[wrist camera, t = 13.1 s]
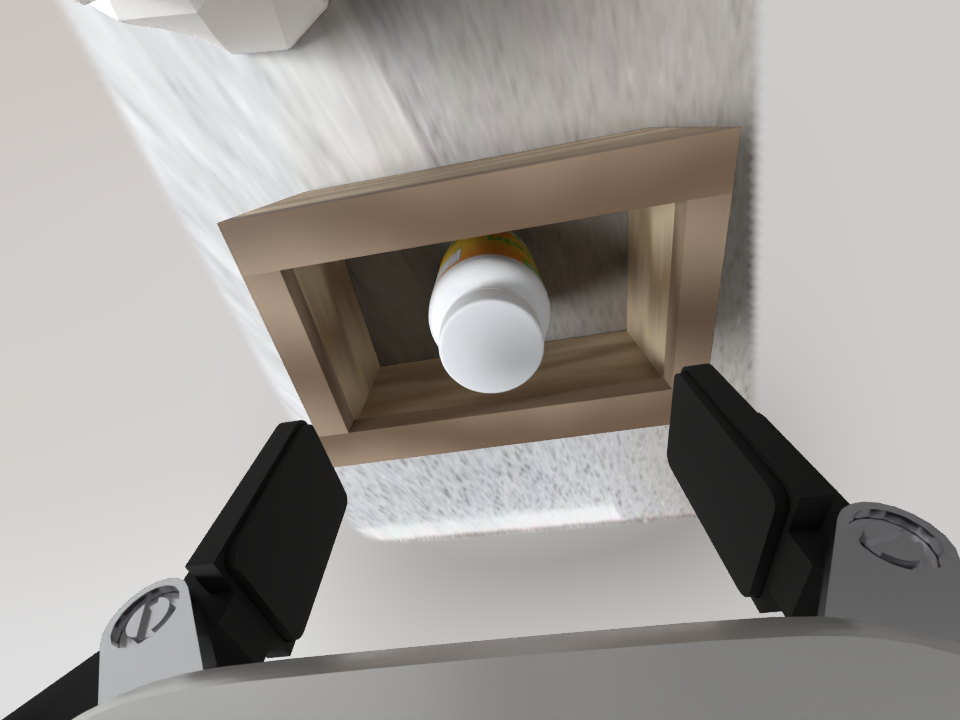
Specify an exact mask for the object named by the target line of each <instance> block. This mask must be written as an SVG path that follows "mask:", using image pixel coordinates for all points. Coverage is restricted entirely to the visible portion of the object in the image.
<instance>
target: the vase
mask: <svg viewBox="0 0 960 720" xmlns="http://www.w3.org/2000/svg"><path fill="white" fill-rule="evenodd" d="M71 1H74V2H77V3H79V4H82V5H86V4H89V5H91V6H92V7H94V8H96V9H98V10H100V11H101V12H103V13H105V14H107V15H109V16H110V17H112V18H114V19H116V20H118V21H121V22H124V23H128V24H132V25H138V26H146V27H153V28H160V29H165V30H169V31H172V32H176V33H180V34H184V35H188V36H191V37H194V38H197V39H199V40H202V41H205V42H208V43H210V44H213V45H215V46H217V47H219V48H221V49H223V50H225V51H228V52H230V53H232V54H245V53H257V52H268V51H280V50H288V49H289V48H292V46H293V45H294V44H295V43H296V42H297V41H298V40H299V39H300V37H301V36H302V35H303V34H304V33H305V32H306V31H307V30H308V28H309V27H310V26H311V25H312V24H313V23H314V22H315V21H316V19H317V18H318V17H319V16H320V15H321V14H322V13H323V12H324V11H325V9H326V8H327V7H328V1H329V0H71Z"/></svg>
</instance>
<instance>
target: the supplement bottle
mask: <svg viewBox="0 0 960 720" xmlns="http://www.w3.org/2000/svg"><path fill="white" fill-rule="evenodd" d="M550 322H551V307H550V301H549V298H548V294H547V292H546V289H545V286H544V284H543V282H542V280H541V277H540V275H539V272H538V270H537V268H536V265H535V262H534V260H533V257H532V255H531V253H530V251H529V249H528V247H527V246H526V244H525V243H524V242H523V241H522V240H521V239H520V238H519V237H518V236H517V235H516V234H514V233H513V232H511V231H507V232H501V233H495V234H489V235H484V236H478V237H472V238H466V239H460V240H454V241H453V242H452V243H451V244H450V245H449V247H448V248H447V250H446V252H445V254H444V256H443V258H442V261H441V265H440V268H439V272H438V275H437V279H436V282H435V286H434V289H433V292H432V296H431V300H430V306H429V326H430V330H431V333H432V336H433V338H434V341H435V342H436V344H437V345H438V347H439V354H440V358H441V362H442V364H443V366H444V368H445V370H446V371H447V372H448V374H449V375H450V376H451V377H452V378H453V379H454V380H455V381H456V382H458V383H459V384H460V385H462V386H464V387H466V388H468V389H470V390H473V391H477V392H482V393H500V392H505V391H508V390H511V389H514V388H516V387H518V386H520V385H521V384H523V383H524V382H526V381H527V380H528V379H529V378H530V377H531V376H532V375H533V374H534V373H535V371H536V370H537V368H538V367H539V365H540V362H541V360H542V357H543V353H544V340H545V338H546V336H547V333H548V330H549V326H550Z"/></svg>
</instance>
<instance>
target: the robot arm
mask: <svg viewBox="0 0 960 720" xmlns="http://www.w3.org/2000/svg"><path fill="white" fill-rule="evenodd" d="M667 458H668V463H669V465H670V468H671V470H672V471H673V473H674V475H675V477H676V479H677V480H678V482H679V484H680V486H681V488H682V489H683V491H684V493H685V495H686V497H687V498H688V500H689V502H690V504H691V506H692V507H693V509H694V511H695V513H696V515H697V516H698V518H699V520H700V522H701V524H702V525H703V527H704V529H705V531H706V532H707V534H708V536H709V538H710V539H711V541H712V543H713V545H714V547H715V549H716V550H717V552H718V554H719V556H720V558H721V559H722V561H723V563H724V565H725V566H726V568H727V570H728V572H729V574H730V576H731V577H732V579H733V581H734V583H735V585H736V586H737V588H738V590H739V591H740V593H741V594H742V595H743V596H745V597H751V598H752V600H753V602H754V604H755V605H756V607H757V609H758V611H759V612H760V613H768V612H778V611H782V612H783V614H784V615H785V617H768V618H754V619H738V620H723V621H709V622H694V623H680V624H669V625H656V626H645V627H633V628H621V629H610V630H598V631H587V632H576V633H563V634H551V635H540V636H529V637H518V638H507V639H496V640H484V641H473V642H463V643H452V644H441V645H430V646H419V647H408V648H398V649H387V650H377V651H367V652H357V653H346V654H336V655H325V656H315V657H304V658H294V659H285V660H276V661H268V662H264V660H265V657H267V658H274V657H285V656H290V655H291V652H292V649H293V646H294V644H295V641H296V640H297V639H299V638H300V637H301V636H302V634H303V632H304V630H305V627H306V624H307V621H308V619H309V616H310V613H311V610H312V607H313V603H314V601H315V598H316V595H317V592H318V589H319V586H320V583H321V580H322V577H323V574H324V571H325V569H326V565H327V562H328V560H329V557H330V554H331V551H332V548H333V545H334V542H335V539H336V536H337V533H338V530H339V527H340V524H341V521H342V519H343V516H344V513H345V510H346V506H347V495H346V492H345V490H344V488H343V486H342V484H341V482H340V480H339V478H338V475H337V473H336V471H335V469H334V467H333V465H332V463H331V461H330V459H329V457H328V455H327V453H326V451H325V449H324V447H323V445H322V443H321V441H320V438H319V436H318V434H317V432H316V430H315V428H314V427H313V426H312V425H308V424H307V423H306V422H305V421H303V420H299V421H292V422H285V423H281V424H279V425H278V426H277V427H276V429H275V430H274V432H273V433H272V435H271V436H270V438H269V440H268V441H267V443H266V444H265V446H264V447H263V449H262V450H261V452H260V453H259V455H258V456H257V458H256V459H255V461H254V462H253V464H252V465H251V467H250V469H249V470H248V472H247V473H246V475H245V476H244V478H243V479H242V481H241V482H240V484H239V485H238V487H237V488H236V490H235V491H234V493H233V494H232V496H231V497H230V499H229V501H228V502H227V504H226V505H225V507H224V508H223V510H222V511H221V513H220V514H219V516H218V517H217V519H216V520H215V522H214V523H213V525H212V526H211V528H210V529H209V531H208V533H207V534H206V535H205V537H204V538H203V540H202V542H201V543H200V545H199V546H198V548H197V549H196V551H195V552H194V554H193V555H192V557H191V558H190V560H189V561H188V563H187V564H186V566H185V567H186V569H187V570H188V571H189V572H188V574H187V576H186V577H185V579H184V580H181V579H179V578H168V579H164V580H161V581H159V582H156V583H154V584H152V585H150V586H148V587H146V588H144V589H143V590H141V591H140V592H139V593H137V594H136V595H134V596H133V597H132V598H131V599H129V600H128V601H127V602H126V603H125V604H124V605H123V606H122V607H121V608H120V609H119V610H118V611H117V613H116V614H115V615H114V616H113V618H112V619H111V620H110V622H109V623H108V625H107V627H106V629H105V631H104V633H103V635H102V639H101V643H100V651H99V652H97V653H95V654H94V655H93V656H91V657H90V658H88V659H87V660H86V661H84V662H83V663H81V664H80V665H79V666H77V667H76V668H74V669H73V670H72V671H70V672H69V673H67V674H66V675H64V676H63V677H62V678H60V679H59V680H57V681H56V682H55V683H53V684H52V685H50V686H49V687H47V688H46V689H45V690H43V691H42V692H40V693H39V694H38V695H36V696H35V697H33V698H32V699H30V700H29V701H28V702H26V703H25V704H23V705H22V706H21V707H19V708H18V709H16V710H15V711H14V712H12V713H11V714H9V715H8V716H7V717H5V718H4V719H2V720H960V558H959V556H958V553H957V550H956V548H955V547H954V546H953V545H952V544H951V542H950V541H949V540H948V538H947V537H946V536H945V535H944V534H943V533H941V532H940V531H939V530H938V529H936V528H935V527H934V526H932V525H931V524H930V523H928V522H926V521H925V520H923V519H921V518H919V517H917V516H916V515H914V514H912V513H909V512H907V511H904V510H902V509H899V508H897V507H894V506H889V505H885V504H881V503H874V502H859V503H854V504H849V503H848V502H847V501H846V500H845V499H844V498H843V497H842V496H841V495H840V494H839V493H838V491H837V490H836V489H834V487H833V486H832V485H831V484H829V482H828V481H827V480H826V479H825V478H824V477H823V476H822V475H821V474H820V473H819V472H818V471H817V470H816V469H815V468H814V467H813V466H812V465H811V464H810V463H809V462H808V461H807V460H806V459H805V458H804V457H803V455H801V453H800V452H799V451H798V450H797V449H796V448H795V447H794V446H793V445H792V444H791V443H790V442H789V441H788V440H787V439H786V438H785V437H784V436H783V435H782V434H781V433H780V432H779V431H778V430H777V429H776V428H775V427H774V426H773V425H772V424H771V423H770V422H769V421H768V419H767V418H766V417H764V416H763V415H762V414H760V413H758V412H756V411H755V410H754V409H753V408H752V406H751V405H750V404H749V403H748V402H747V401H746V400H745V399H744V398H743V397H742V396H741V395H740V394H739V393H738V392H737V391H736V390H735V389H734V388H733V387H732V386H731V385H730V384H729V383H728V381H727V380H726V379H725V378H724V377H723V376H722V375H721V374H720V373H719V372H718V371H717V370H716V369H715V368H714V367H713V366H712V365H711V364H708V363H706V364H699V365H692V366H685V367H683V368H682V370H681V373H677V374H675V376H674V383H673V394H672V405H671V416H670V426H669V437H668V448H667Z"/></svg>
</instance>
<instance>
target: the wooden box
mask: <svg viewBox="0 0 960 720" xmlns="http://www.w3.org/2000/svg"><path fill="white" fill-rule="evenodd" d="M740 132H741V127H666V128H645V129H640V130H635V131H629V132H624V133H619V134H613V135H608V136H603V137H597V138H592V139H587V140H581V141H576V142H571V143H565V144H560V145H555V146H549V147H544V148H539V149H533V150H528V151H523V152H517V153H512V154H507V155H501V156H496V157H490V158H485V159H480V160H474V161H469V162H464V163H458V164H453V165H448V166H442V167H437V168H432V169H426V170H421V171H416V172H410V173H405V174H400V175H394V176H389V177H384V178H378V179H373V180H368V181H362V182H357V183H352V184H346V185H341V186H336V187H330V188H325V189H319V190H314V191H309V192H303V193H300V194H297V195H295V196H292V197H289V198H286V199H283V200H281V201H278V202H275V203H272V204H269V205H267V206H264V207H261V208H258V209H255V210H253V211H250V212H247V213H244V214H241V215H239V216H236V217H233V218H230V219H227V220H225V221H222V222H219V223H217V224H218V226H219V228H220V231H221V233H222V235H223V237H224V239H225V241H226V243H227V245H228V247H229V250H230V252H231V254H232V256H233V258H234V260H235V262H236V264H237V266H238V269H239V271H240V273H241V275H242V277H243V279H244V281H245V283H246V285H247V288H248V290H249V292H250V294H251V296H252V298H253V300H254V302H255V304H256V307H257V309H258V311H259V313H260V315H261V317H262V319H263V321H264V323H265V326H266V328H267V330H268V332H269V334H270V336H271V338H272V340H273V342H274V345H275V347H276V349H277V351H278V353H279V355H280V357H281V359H282V361H283V364H284V366H285V368H286V370H287V372H288V374H289V376H290V378H291V380H292V383H293V385H294V387H295V389H296V391H297V393H298V395H299V397H300V399H301V402H302V404H303V406H304V408H305V410H306V412H307V414H308V416H309V418H310V421H311V423H312V425H313V427H314V428H315V430H316V432H317V434H318V436H319V438H320V441H321V443H322V445H323V447H324V449H325V451H326V453H327V455H328V457H329V459H330V461H331V463H332V465H333V467H340V466H348V465H355V464H363V463H371V462H379V461H387V460H395V459H402V458H410V457H418V456H426V455H434V454H442V453H449V452H457V451H465V450H473V449H481V448H489V447H496V446H504V445H512V444H520V443H528V442H536V441H543V440H551V439H559V438H567V437H575V436H583V435H590V434H598V433H606V432H614V431H622V430H630V429H637V428H645V427H653V426H661V425H669V424H670V416H671V405H672V394H673V383H674V376H675V374H677V373H681V370H682V368H683V367H685V366H692V365H699V364H706V363H708V364H710V359H711V351H712V343H713V336H714V328H715V321H716V313H717V306H718V298H719V291H720V283H721V276H722V268H723V260H724V253H725V245H726V238H727V230H728V223H729V215H730V208H731V200H732V193H733V185H734V177H735V170H736V162H737V155H738V147H739V140H740ZM624 211H628V261H627V330H624V331H617V332H610V333H604V334H597V335H590V336H583V337H577V338H570V339H563V340H556V341H549V342H544V353H543V357H542V360H541V362H540V365H539V367H538V368H537V370H536V371H535V373H534V374H533V375H532V376H531V377H530V378H529V379H528V380H527V381H526V382H524V383H523V384H521V385H520V386H518V387H516V388H514V389H511V390H508V391H505V392H500V393H482V392H477V391H473V390H470V389H468V388H466V387H464V386H462V385H460V384H459V383H458V382H456V381H455V380H454V379H453V378H452V377H451V376H450V375H449V374H448V372H447V371H446V370H445V368H444V366H443V364H442V362H441V358H434V359H427V360H421V361H414V362H407V363H400V364H394V365H387V366H380V364H379V361H378V358H377V355H376V352H375V349H374V346H373V343H372V340H371V337H370V334H369V331H368V328H367V325H366V322H365V320H364V317H363V314H362V311H361V308H360V305H359V302H358V299H357V296H356V293H355V290H354V287H353V284H352V281H351V278H350V275H349V272H348V269H347V266H346V263H345V260H344V259H349V258H355V257H361V256H367V255H373V254H379V253H384V252H390V251H396V250H402V249H408V248H414V247H419V246H425V245H431V244H437V243H443V242H449V241H454V240H460V239H466V238H472V237H478V236H484V235H489V234H495V233H501V232H507V231H513V230H519V229H524V228H530V227H536V226H542V225H548V224H554V223H559V222H565V221H571V220H577V219H583V218H589V217H594V216H600V215H606V214H612V213H618V212H624Z"/></svg>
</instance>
